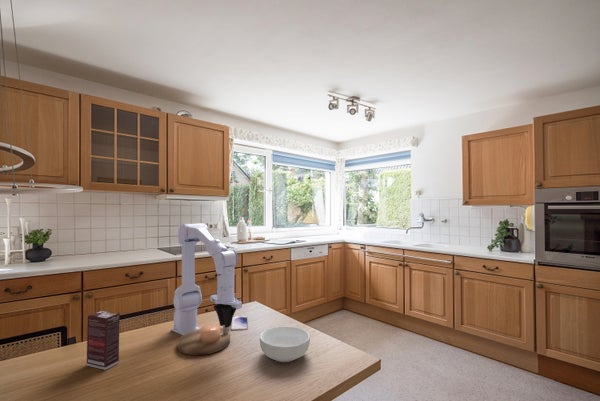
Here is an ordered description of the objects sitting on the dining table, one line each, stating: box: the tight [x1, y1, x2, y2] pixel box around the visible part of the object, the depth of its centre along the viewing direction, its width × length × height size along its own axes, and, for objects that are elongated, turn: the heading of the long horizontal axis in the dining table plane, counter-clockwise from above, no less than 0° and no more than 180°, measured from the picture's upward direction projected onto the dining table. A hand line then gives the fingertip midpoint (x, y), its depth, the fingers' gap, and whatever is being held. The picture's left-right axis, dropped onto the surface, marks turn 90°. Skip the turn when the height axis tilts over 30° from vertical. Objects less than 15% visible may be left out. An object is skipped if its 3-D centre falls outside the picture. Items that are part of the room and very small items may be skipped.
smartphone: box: [230, 315, 249, 332], centre depth 127 cm, size 7×1×15 cm
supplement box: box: [86, 310, 121, 371], centre depth 93 cm, size 9×5×16 cm, turn 71°
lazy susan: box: [177, 326, 231, 356], centre depth 107 cm, size 18×18×5 cm
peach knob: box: [200, 324, 221, 344], centre depth 105 cm, size 7×7×4 cm
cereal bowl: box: [259, 325, 311, 363], centre depth 98 cm, size 17×17×7 cm
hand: (225, 325), depth 100 cm, fingers closed
